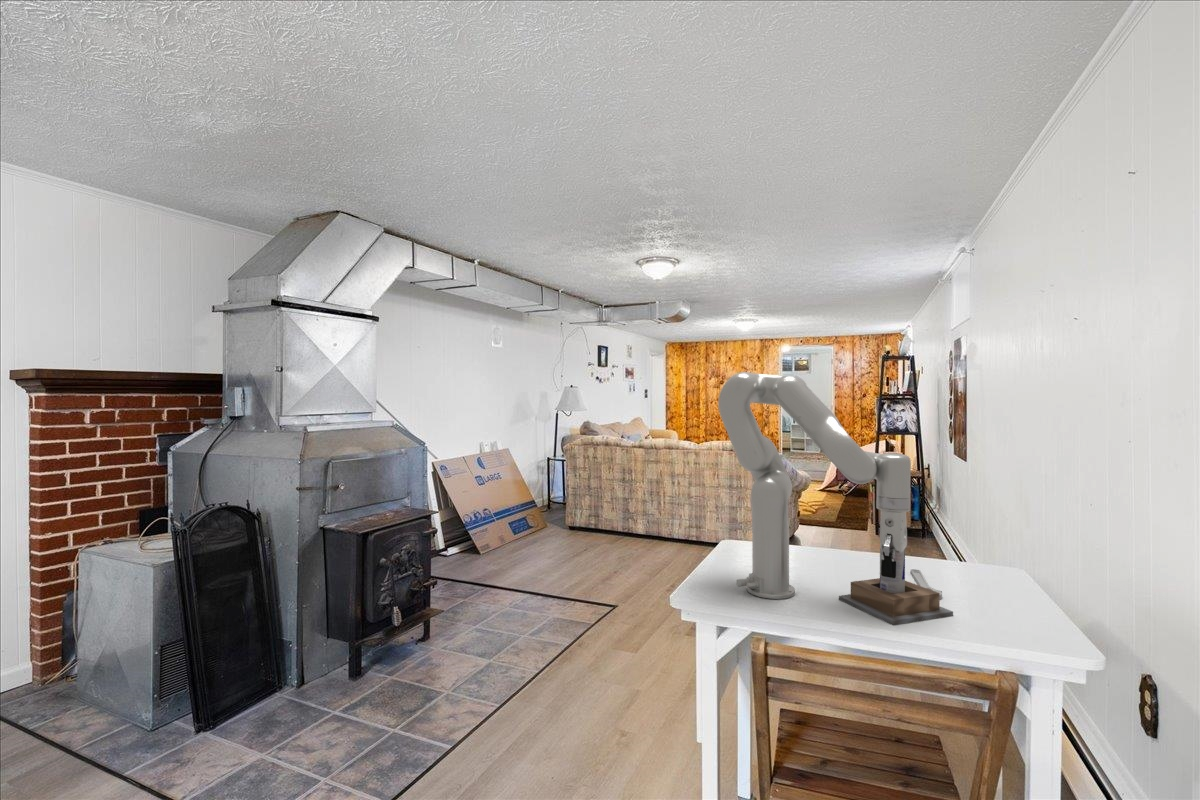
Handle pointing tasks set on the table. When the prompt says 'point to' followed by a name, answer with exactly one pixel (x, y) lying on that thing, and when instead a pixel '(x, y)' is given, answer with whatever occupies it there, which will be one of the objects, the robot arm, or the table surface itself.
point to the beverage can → (898, 582)
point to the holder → (895, 602)
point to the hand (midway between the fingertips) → (891, 571)
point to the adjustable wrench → (922, 580)
